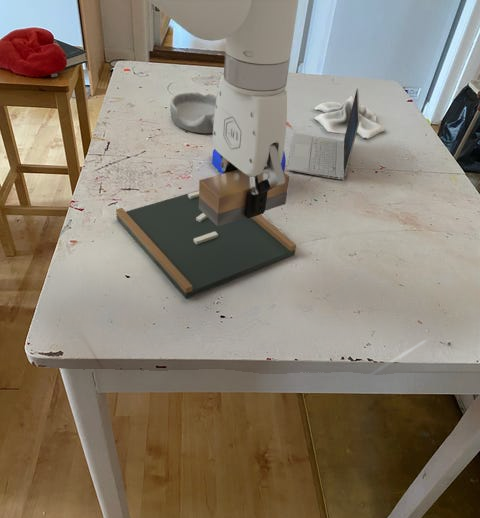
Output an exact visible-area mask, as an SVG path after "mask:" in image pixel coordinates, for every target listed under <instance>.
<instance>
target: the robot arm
mask: <svg viewBox="0 0 480 518" xmlns="http://www.w3.org/2000/svg"><path fill="white" fill-rule="evenodd" d="M147 1H148V2H149V3H151V4H152V5H153V6H154V7H155V8H157V9H158V10H159V11H161V12H162V13H163V14H164V15H166V16H167V17H168V18H170V19H171V20H172V21H173V22H175V24H177V25H178V26H179V27H181V29H183V30H185V31H186V32H187V33H189V34H190V35H191V36H194V37H195V38H198V39H200V40H204V41H209V42H210V41H211V42H215V41H221V40H224V39H225V43H224V44H225V45H224V62H223V63H224V64H223V73H222V74H221V77H220V80H219V84H218V89H217V93H216V97H217V99H216V106H215V114H214V125H213V133H212V146H213V148H214V149H215V150H216V151H217V152H218V153H219V154H220V156H221V159H222V162H221V168H222V170H223V171H225V172H223V174H224V173H228V172H231V171H235V170H238V169H239V170H241V171H242V172H243V173H245V174H246V175H247V176H249V179H250V191H249V192H247V198H246V207H245V217H247V218H251V217H254V216H257V215H263V214H265V212H266V211H265V207H266V200H267V193H268V191H270V190H271V189H272V188H274V187H276V186H279V185H281V184H284V183H285V177H284V173H285V172H284V173H283V170H282V166H281V162H282V157H283V152H284V153H285V145H286V144H285V143H286V135H287V134H286V133H287V123H288V121H287V119H288V117H287V116H288V96H287V95H288V93H287V91H286V89H287V82H288V76H289V69H290V62H291V56H292V55H291V54H292V48H293V41H294V34H295V29H296V21H297V13H298V6H299V0H147ZM261 174H263V181H261V182H260V183H258V175H261Z"/></svg>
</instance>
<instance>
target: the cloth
mask: <svg viewBox="0 0 480 518" xmlns="http://www.w3.org/2000/svg"><path fill="white" fill-rule="evenodd" d="M354 98H355V96H353V95H351V96H350V97H348V98H347V99H346V100H345V101H343V103H339V102H336V101H327V102H322V103H319V104H318V105H317V106H316V107H314V110H316V111H321V112H323V113H320V114H317V115H316V116H315V117H313V119H314V120H315V121H316V122H318V123H319V124H320V125H321V126H322V127H323V128H324V129H325V130H326V132H328V133H334V134H342V135H345V134H346V130H347V126H348V122H349V118H350V114H351V110H352V106H353V102H354ZM359 119H360V122H359V126H358V130H357V134H358V135H359V136H360V137H361V138H363V139H367V140H369V139H370V138H372V137H375V136H376V135H378V134H380V133H382V132H385V131H386V130H385V128H384V126H383V125H381V124H380V123H378V122H377V115H376V114H375V113H374V112H373V111H372V110H371V109H369V108H368V107H366V106H365V105H364V104H361V103H359Z"/></svg>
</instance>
